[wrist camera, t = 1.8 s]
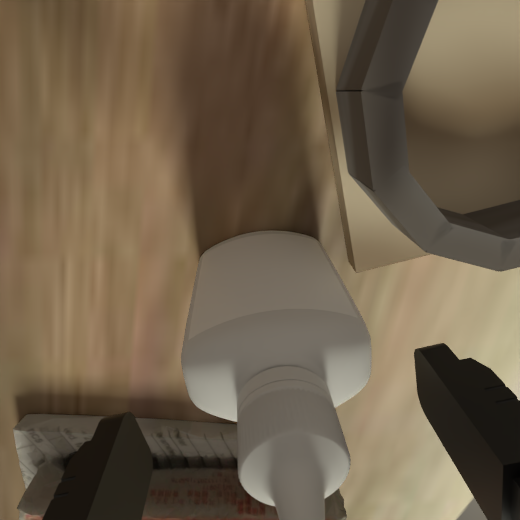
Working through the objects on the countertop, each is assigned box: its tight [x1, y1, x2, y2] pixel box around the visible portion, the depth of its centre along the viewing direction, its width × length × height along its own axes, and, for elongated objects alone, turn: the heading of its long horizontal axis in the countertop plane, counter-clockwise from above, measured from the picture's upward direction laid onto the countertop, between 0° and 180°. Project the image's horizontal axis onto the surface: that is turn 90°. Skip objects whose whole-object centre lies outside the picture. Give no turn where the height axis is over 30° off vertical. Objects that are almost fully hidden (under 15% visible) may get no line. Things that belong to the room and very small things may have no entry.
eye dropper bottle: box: [181, 230, 371, 520], centre depth 12 cm, size 4×6×12 cm
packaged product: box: [13, 414, 347, 520], centre depth 22 cm, size 18×5×10 cm
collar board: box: [305, 0, 520, 273], centre depth 13 cm, size 12×12×4 cm
